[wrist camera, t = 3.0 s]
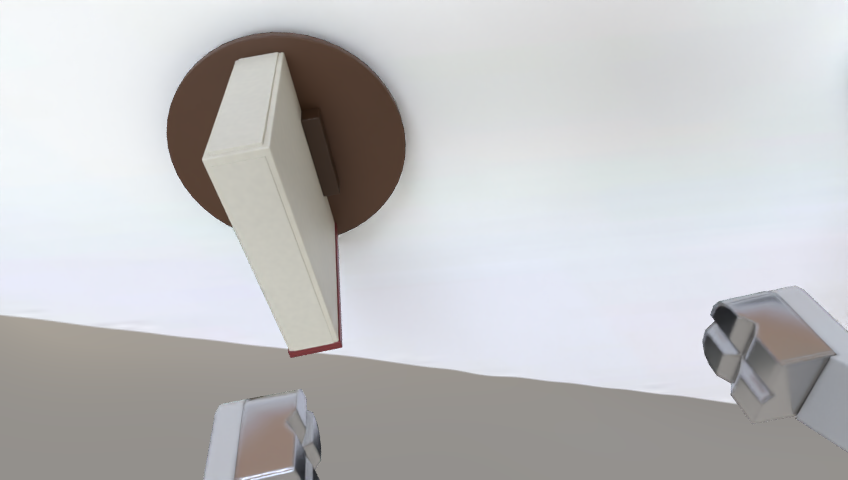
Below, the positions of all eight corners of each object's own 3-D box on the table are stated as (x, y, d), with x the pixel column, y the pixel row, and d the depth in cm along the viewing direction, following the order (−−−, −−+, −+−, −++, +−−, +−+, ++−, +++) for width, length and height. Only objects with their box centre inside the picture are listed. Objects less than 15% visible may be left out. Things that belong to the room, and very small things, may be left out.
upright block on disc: (123, 56, 32) (35, 166, 22) (383, 10, 32) (411, 97, 23) (221, 253, 42) (191, 388, 32) (417, 215, 43) (447, 336, 33)
